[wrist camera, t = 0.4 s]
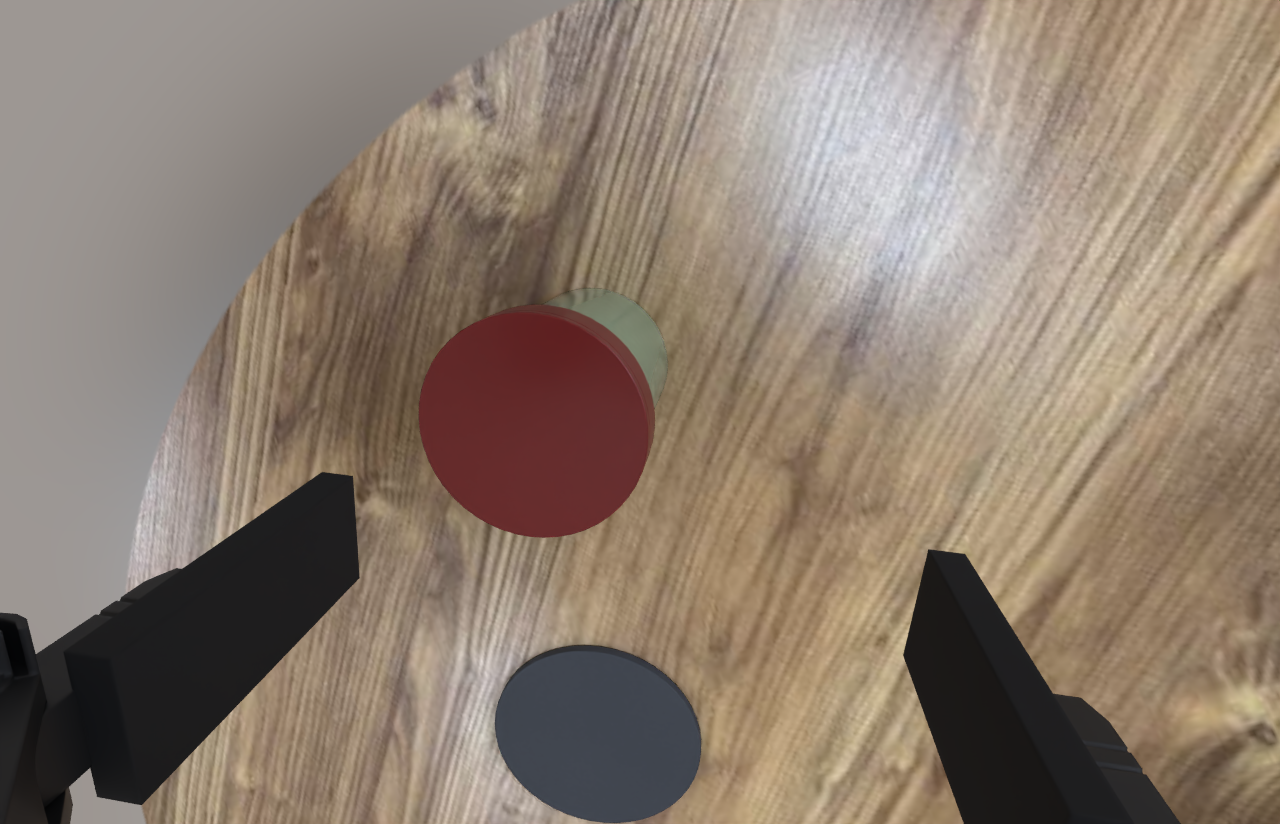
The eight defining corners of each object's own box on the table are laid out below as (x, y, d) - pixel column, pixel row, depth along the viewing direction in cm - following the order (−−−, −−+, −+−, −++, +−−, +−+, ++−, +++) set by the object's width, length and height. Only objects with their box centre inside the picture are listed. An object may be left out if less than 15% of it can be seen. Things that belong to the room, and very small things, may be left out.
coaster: (462, 741, 45) (459, 748, 44) (564, 606, 41) (562, 612, 40) (626, 847, 45) (625, 855, 45) (743, 725, 41) (743, 732, 41)
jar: (496, 379, 37) (402, 446, 27) (570, 257, 34) (498, 281, 24) (615, 460, 37) (567, 556, 27) (697, 345, 35) (677, 405, 25)
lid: (403, 437, 28) (380, 453, 27) (506, 257, 26) (488, 262, 24) (579, 555, 29) (568, 578, 27) (699, 391, 26) (696, 406, 24)
